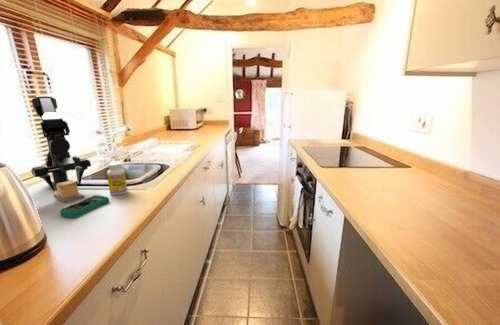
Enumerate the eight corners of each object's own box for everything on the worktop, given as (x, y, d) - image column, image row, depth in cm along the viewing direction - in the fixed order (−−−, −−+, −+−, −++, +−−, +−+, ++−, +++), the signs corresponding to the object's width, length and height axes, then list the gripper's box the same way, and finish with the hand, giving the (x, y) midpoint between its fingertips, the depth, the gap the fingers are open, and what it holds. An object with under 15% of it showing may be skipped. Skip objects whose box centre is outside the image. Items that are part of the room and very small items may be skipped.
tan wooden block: (58, 195, 105) (55, 183, 103) (73, 191, 109) (71, 180, 108) (62, 198, 101) (60, 186, 100) (78, 193, 106) (76, 182, 104)
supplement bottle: (112, 197, 104) (107, 166, 101) (108, 192, 109) (103, 163, 106) (129, 192, 108) (125, 163, 105) (125, 189, 113) (121, 160, 110)
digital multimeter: (58, 217, 88) (57, 209, 87) (96, 201, 101) (95, 194, 101) (74, 220, 85) (72, 212, 85) (110, 203, 99) (109, 196, 98)
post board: (54, 196, 106) (52, 187, 105) (73, 191, 112) (71, 182, 111) (64, 202, 99) (61, 193, 98) (84, 197, 104) (82, 188, 103)
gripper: (34, 157, 88) (44, 198, 92) (93, 148, 103) (99, 184, 106) (26, 153, 95) (36, 192, 99) (82, 145, 109) (88, 180, 113)
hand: (66, 187), depth 104 cm, fingers open, 9 cm apart
